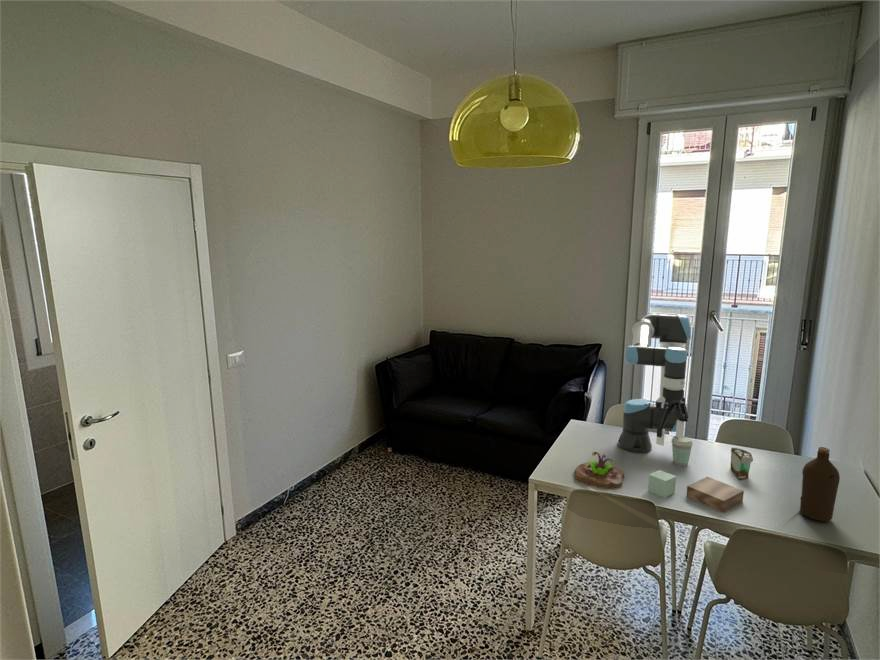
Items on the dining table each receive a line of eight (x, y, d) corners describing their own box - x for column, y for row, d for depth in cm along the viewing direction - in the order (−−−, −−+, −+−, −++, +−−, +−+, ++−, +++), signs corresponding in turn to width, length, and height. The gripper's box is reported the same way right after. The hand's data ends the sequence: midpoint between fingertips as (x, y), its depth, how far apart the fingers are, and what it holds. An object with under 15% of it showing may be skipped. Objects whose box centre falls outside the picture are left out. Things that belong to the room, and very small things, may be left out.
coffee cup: (674, 458, 229) (676, 433, 227) (694, 464, 223) (696, 438, 221) (666, 464, 223) (668, 438, 221) (686, 470, 217) (688, 444, 215)
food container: (756, 482, 205) (758, 459, 204) (739, 481, 207) (742, 458, 205) (744, 469, 217) (746, 447, 216) (729, 468, 219) (731, 446, 217)
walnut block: (686, 497, 194) (687, 485, 194) (706, 488, 202) (707, 476, 201) (722, 513, 183) (723, 500, 182) (742, 502, 190) (743, 490, 189)
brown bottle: (840, 517, 179) (849, 451, 175) (824, 525, 174) (833, 457, 170) (807, 504, 188) (815, 440, 184) (791, 511, 183) (799, 446, 179)
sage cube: (648, 490, 200) (649, 474, 198) (658, 486, 203) (659, 469, 202) (664, 498, 194) (665, 481, 193) (674, 493, 198) (676, 476, 196)
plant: (580, 464, 225) (581, 440, 223) (626, 472, 217) (627, 447, 215) (570, 482, 208) (571, 457, 206) (620, 492, 199) (621, 466, 197)
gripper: (664, 395, 182) (660, 451, 185) (700, 384, 196) (696, 436, 199) (645, 390, 188) (642, 444, 191) (681, 380, 202) (678, 431, 205)
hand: (669, 440), depth 195 cm, fingers open, 13 cm apart
